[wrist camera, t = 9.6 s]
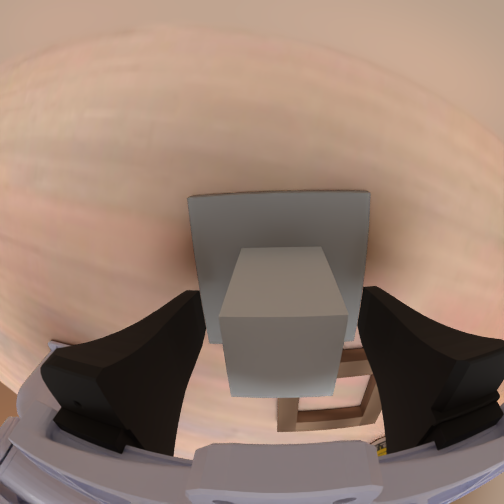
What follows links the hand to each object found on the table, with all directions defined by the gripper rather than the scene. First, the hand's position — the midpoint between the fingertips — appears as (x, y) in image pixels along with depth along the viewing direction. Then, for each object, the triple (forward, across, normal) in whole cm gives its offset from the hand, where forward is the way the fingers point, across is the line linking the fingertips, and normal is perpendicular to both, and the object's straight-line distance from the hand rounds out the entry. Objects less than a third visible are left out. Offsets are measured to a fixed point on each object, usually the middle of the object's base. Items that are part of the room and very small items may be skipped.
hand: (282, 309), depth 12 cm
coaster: (+3, 0, 0) cm, 3 cm away
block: (+3, 0, 0) cm, 3 cm away
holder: (+3, -4, +10) cm, 11 cm away
